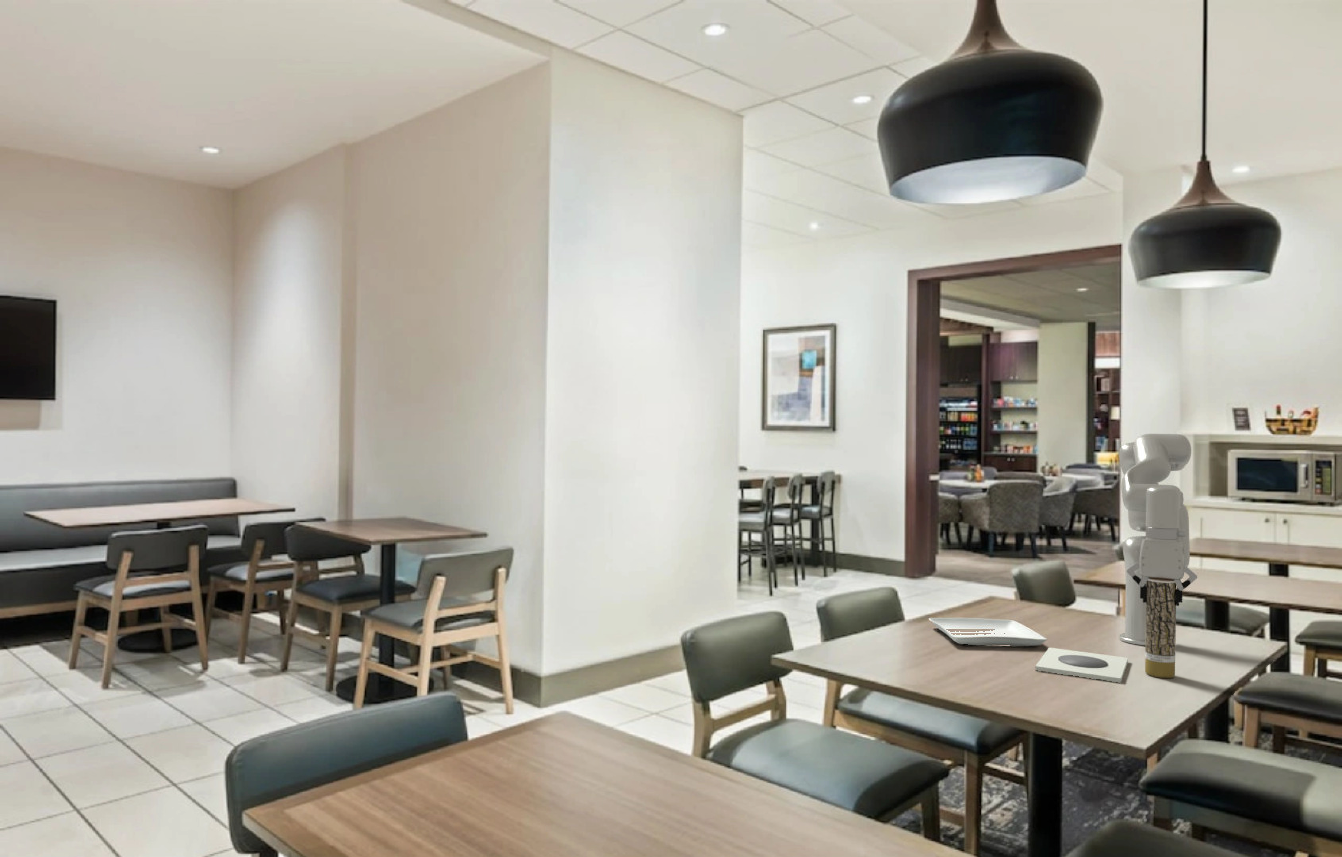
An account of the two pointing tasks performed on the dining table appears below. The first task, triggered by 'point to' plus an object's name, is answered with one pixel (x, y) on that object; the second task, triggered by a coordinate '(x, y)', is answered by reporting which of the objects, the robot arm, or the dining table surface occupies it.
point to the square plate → (1012, 629)
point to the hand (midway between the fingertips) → (1160, 603)
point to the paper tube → (1160, 627)
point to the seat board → (1083, 664)
